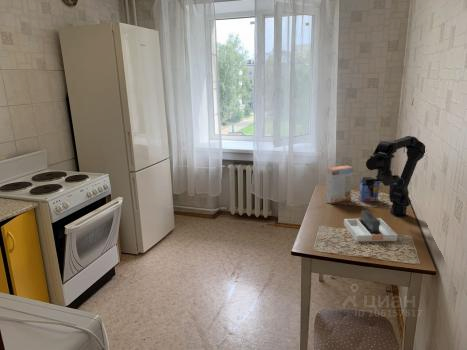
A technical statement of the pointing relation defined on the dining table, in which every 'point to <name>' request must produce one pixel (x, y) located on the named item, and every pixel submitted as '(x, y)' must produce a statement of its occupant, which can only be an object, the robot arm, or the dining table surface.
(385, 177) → the robot arm
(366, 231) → the slot rack
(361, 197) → the ink cartridge box
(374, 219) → the panel
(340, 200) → the cracker box
